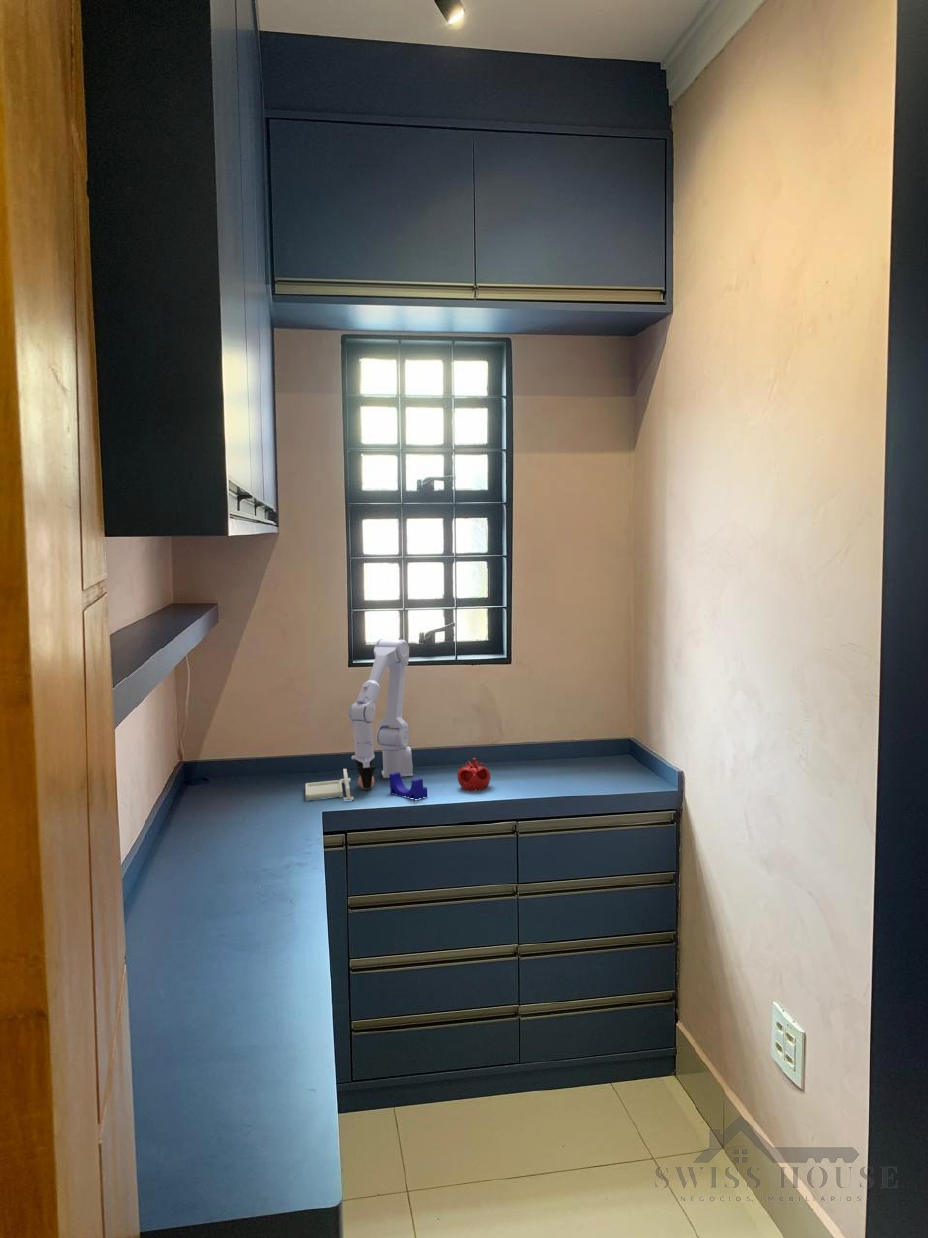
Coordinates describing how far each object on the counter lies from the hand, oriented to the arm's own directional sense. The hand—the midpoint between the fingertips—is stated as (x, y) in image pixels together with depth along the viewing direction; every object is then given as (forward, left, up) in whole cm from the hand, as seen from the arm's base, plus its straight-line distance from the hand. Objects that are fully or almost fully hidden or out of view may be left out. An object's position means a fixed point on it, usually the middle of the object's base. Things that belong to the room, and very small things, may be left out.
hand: (366, 784), depth 270 cm
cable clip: (-12, +10, -2) cm, 16 cm away
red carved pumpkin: (-32, +10, -2) cm, 34 cm away
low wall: (+6, 0, -1) cm, 6 cm away
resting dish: (+13, 0, -1) cm, 13 cm away
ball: (0, 0, +1) cm, 1 cm away
